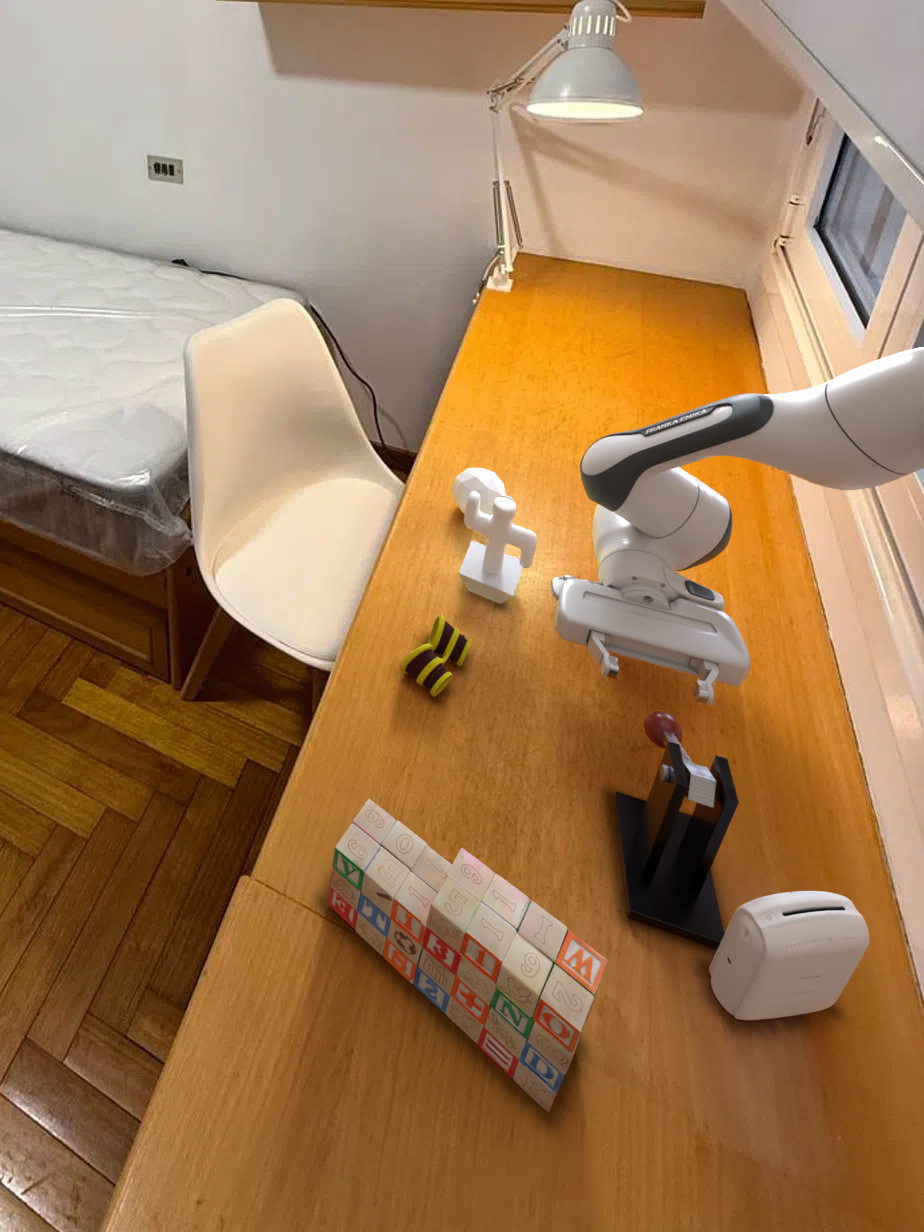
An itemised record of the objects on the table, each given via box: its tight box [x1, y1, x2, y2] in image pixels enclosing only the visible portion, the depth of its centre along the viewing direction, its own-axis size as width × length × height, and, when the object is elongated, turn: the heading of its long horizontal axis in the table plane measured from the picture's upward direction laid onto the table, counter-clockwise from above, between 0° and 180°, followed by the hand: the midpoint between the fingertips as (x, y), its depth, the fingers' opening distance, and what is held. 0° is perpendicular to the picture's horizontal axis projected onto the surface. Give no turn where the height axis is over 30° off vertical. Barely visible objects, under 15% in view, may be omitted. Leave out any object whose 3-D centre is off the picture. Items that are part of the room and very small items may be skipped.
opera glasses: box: [399, 613, 473, 698], centre depth 103 cm, size 10×5×5 cm, turn 137°
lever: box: [643, 710, 717, 808], centre depth 84 cm, size 15×4×4 cm, turn 161°
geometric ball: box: [452, 467, 507, 516], centre depth 128 cm, size 8×8×8 cm
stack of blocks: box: [327, 798, 608, 1113], centre depth 73 cm, size 21×6×12 cm, turn 47°
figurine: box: [458, 491, 538, 605], centre depth 113 cm, size 7×9×15 cm
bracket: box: [612, 741, 740, 951], centre depth 80 cm, size 12×8×15 cm, turn 160°
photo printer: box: [708, 890, 870, 1021], centre depth 72 cm, size 10×4×12 cm, turn 96°
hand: (657, 686), depth 93 cm, fingers open, 8 cm apart
